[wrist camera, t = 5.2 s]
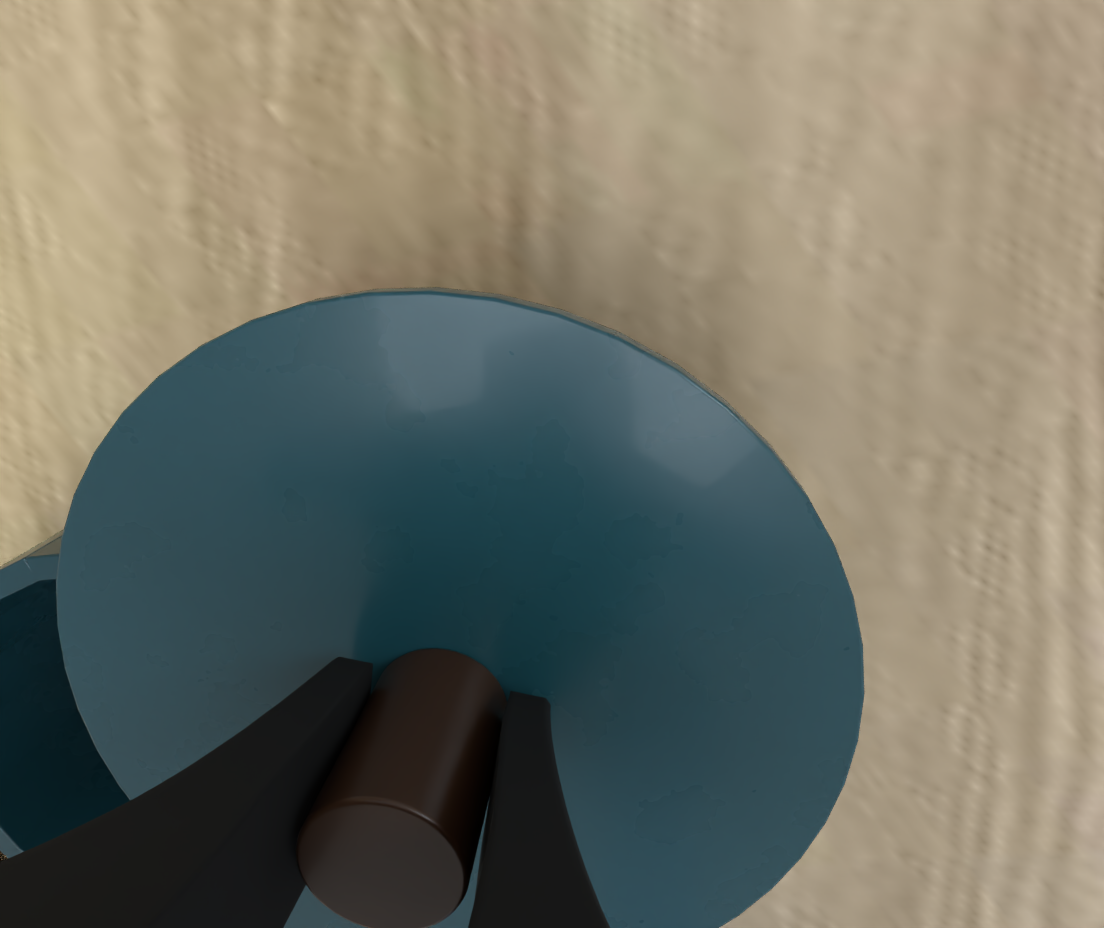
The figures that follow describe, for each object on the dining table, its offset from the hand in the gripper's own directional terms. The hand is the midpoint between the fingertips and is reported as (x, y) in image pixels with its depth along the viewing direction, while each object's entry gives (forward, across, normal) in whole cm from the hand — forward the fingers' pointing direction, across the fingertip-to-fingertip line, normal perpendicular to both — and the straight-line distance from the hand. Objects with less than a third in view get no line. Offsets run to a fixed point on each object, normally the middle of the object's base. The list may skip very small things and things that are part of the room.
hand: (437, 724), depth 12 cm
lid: (+1, 0, 0) cm, 1 cm away
